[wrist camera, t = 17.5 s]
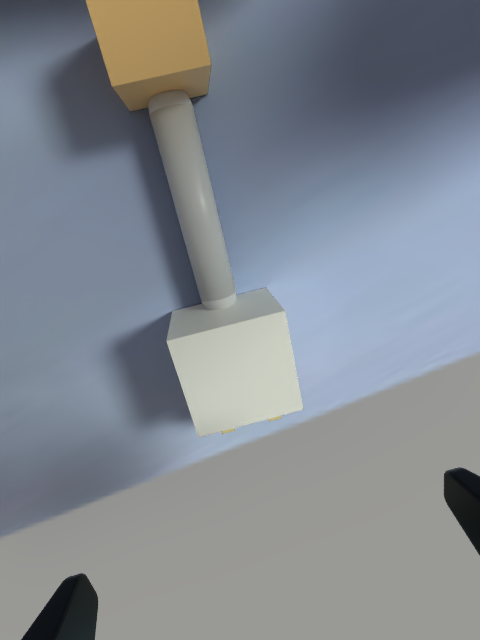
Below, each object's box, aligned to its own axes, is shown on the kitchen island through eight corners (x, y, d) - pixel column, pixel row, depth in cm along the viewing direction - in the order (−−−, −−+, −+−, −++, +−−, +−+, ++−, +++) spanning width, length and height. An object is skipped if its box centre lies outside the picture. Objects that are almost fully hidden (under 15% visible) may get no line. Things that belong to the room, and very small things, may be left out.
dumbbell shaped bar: (210, 8, 12) (216, -65, 9) (286, 385, 18) (306, 428, 14) (85, 35, 12) (42, -28, 8) (202, 407, 17) (204, 456, 14)
